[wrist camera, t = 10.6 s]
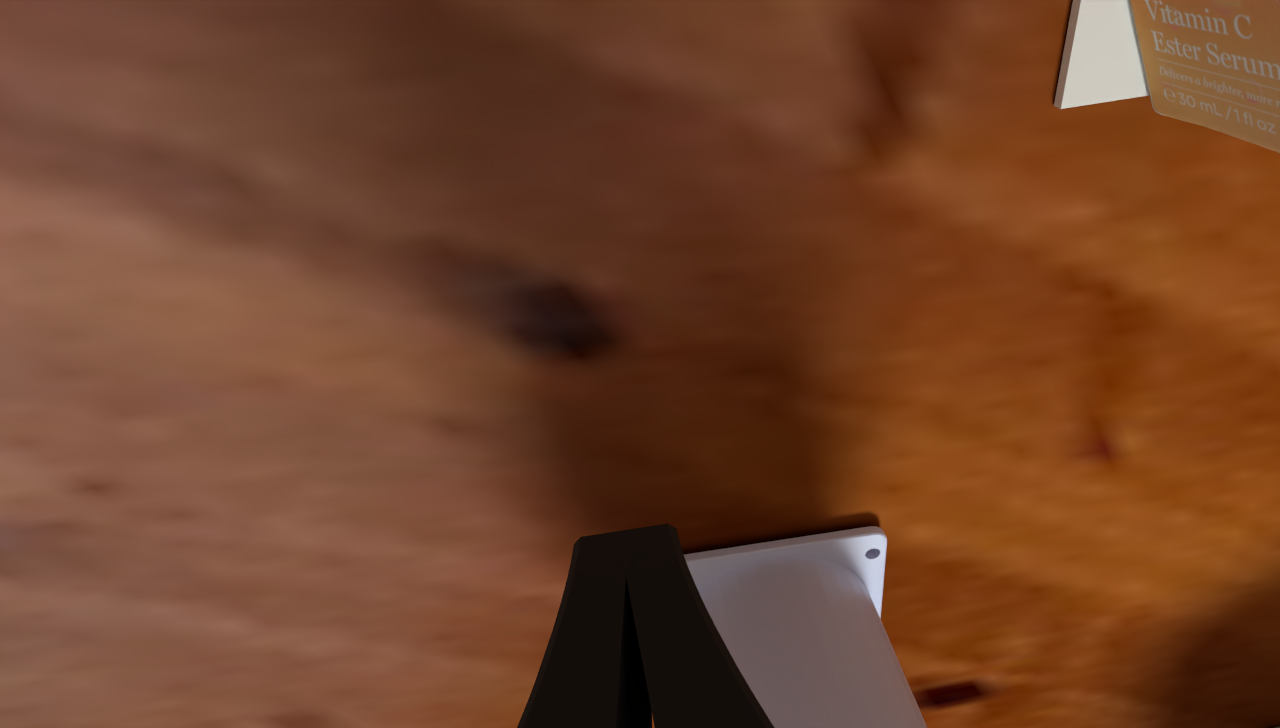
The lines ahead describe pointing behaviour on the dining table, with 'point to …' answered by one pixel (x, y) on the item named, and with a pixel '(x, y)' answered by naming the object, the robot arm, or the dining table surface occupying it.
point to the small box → (1214, 64)
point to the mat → (1100, 55)
